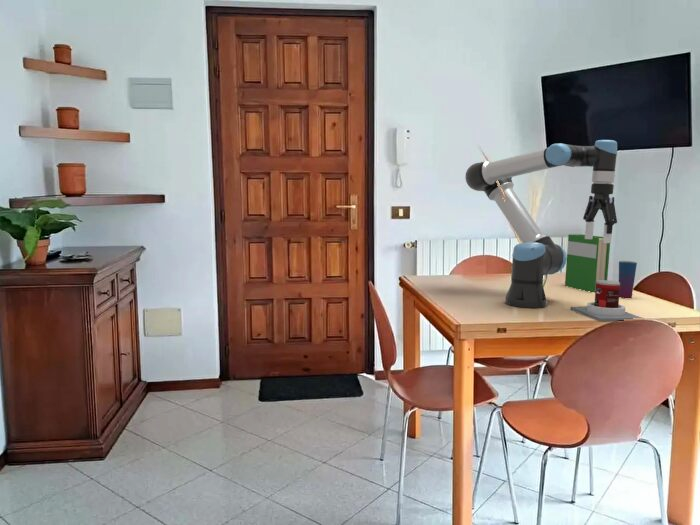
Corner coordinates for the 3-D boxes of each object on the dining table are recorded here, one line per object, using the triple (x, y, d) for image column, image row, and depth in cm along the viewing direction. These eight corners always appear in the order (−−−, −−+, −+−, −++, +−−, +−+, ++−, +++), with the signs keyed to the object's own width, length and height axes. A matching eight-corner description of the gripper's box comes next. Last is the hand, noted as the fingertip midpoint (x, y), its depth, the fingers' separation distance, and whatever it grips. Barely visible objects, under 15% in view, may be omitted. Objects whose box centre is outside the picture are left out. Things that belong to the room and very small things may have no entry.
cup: (635, 299, 248) (638, 263, 246) (618, 298, 249) (621, 262, 247) (631, 296, 255) (634, 261, 253) (614, 295, 256) (617, 260, 254)
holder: (600, 321, 204) (601, 311, 204) (570, 309, 224) (571, 300, 223) (643, 320, 207) (644, 310, 206) (610, 309, 226) (610, 299, 226)
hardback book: (606, 292, 265) (610, 237, 262) (593, 292, 262) (597, 237, 259) (577, 285, 281) (581, 234, 278) (564, 286, 278) (568, 234, 275)
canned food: (597, 309, 220) (599, 279, 219) (620, 312, 215) (622, 281, 214) (591, 312, 214) (593, 281, 213) (614, 315, 209) (617, 284, 208)
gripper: (631, 183, 208) (625, 244, 211) (595, 183, 233) (590, 237, 235) (610, 183, 207) (604, 244, 210) (577, 182, 232) (572, 237, 235)
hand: (597, 241), depth 223 cm, fingers open, 13 cm apart
